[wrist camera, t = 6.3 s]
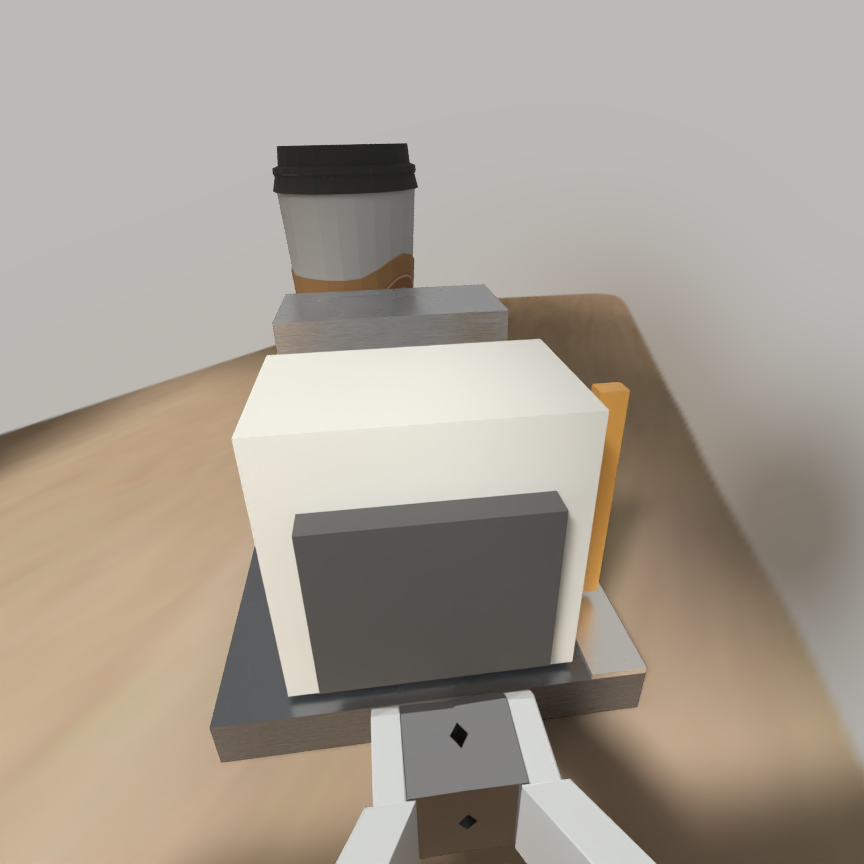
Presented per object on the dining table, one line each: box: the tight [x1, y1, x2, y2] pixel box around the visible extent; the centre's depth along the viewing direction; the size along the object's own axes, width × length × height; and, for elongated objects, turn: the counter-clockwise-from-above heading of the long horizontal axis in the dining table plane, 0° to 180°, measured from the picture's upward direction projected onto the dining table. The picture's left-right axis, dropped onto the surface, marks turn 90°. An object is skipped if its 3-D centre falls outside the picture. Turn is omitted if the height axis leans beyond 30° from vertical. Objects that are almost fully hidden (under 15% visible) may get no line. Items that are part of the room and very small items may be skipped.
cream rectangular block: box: [232, 339, 630, 697], centre depth 15 cm, size 6×10×8 cm, turn 97°
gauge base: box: [210, 284, 647, 762], centre depth 21 cm, size 18×12×8 cm, turn 7°
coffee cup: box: [273, 143, 418, 294], centre depth 34 cm, size 8×8×15 cm
